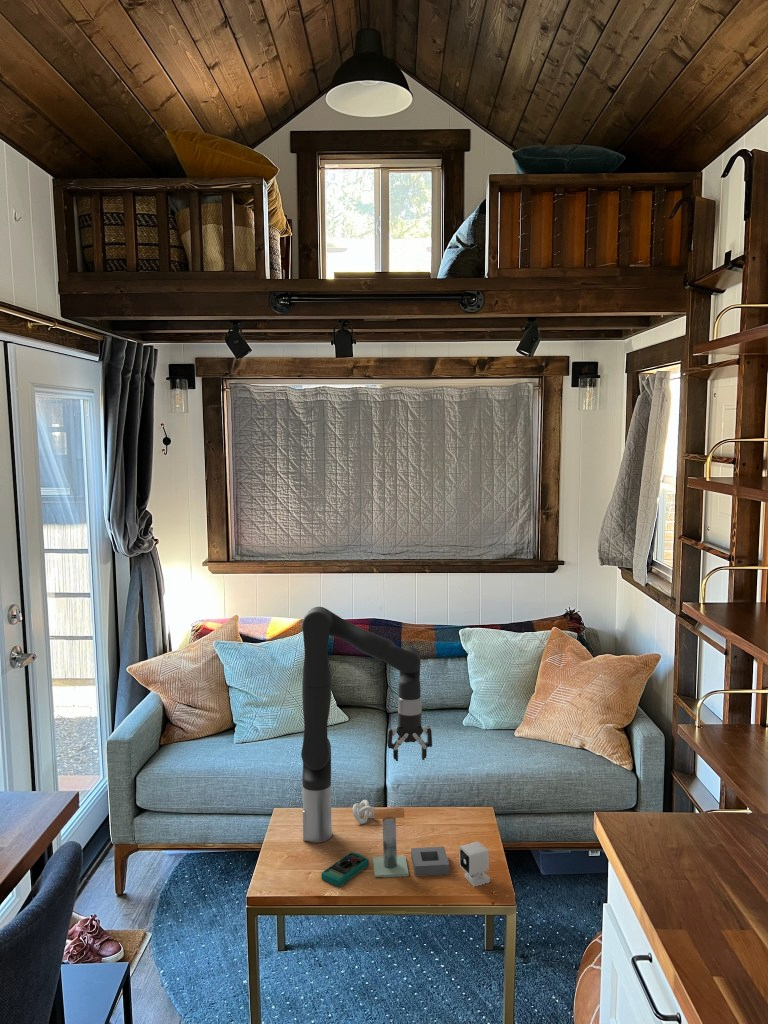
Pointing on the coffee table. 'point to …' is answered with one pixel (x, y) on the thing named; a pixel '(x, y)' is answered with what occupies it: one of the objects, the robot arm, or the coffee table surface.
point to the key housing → (429, 861)
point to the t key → (389, 834)
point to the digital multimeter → (344, 869)
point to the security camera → (474, 863)
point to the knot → (363, 811)
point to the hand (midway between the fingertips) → (409, 759)
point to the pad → (393, 872)
